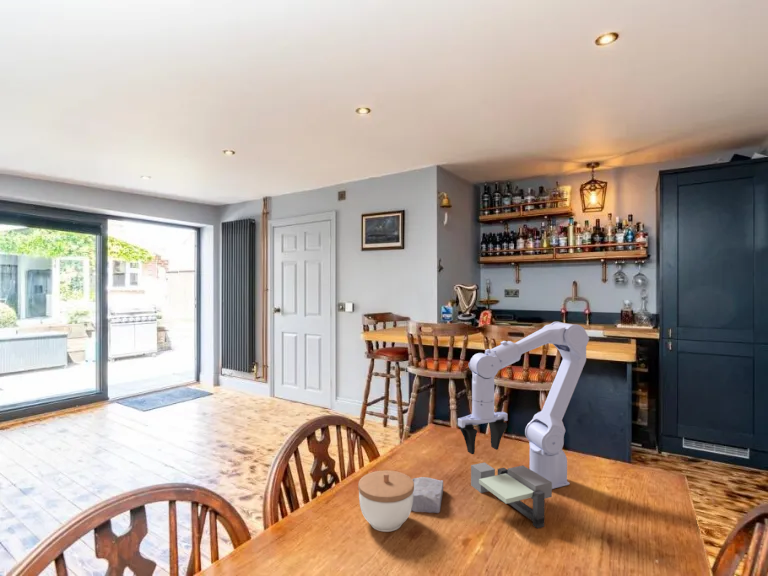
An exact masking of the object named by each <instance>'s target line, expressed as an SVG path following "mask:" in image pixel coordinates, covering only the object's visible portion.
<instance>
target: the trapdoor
mask: <svg viewBox="0 0 768 576" xmlns="http://www.w3.org/2000/svg"><path fill="white" fill-rule="evenodd" d="M507 470H508V474H506V473H505V474H500V475H498V474H497V475H496V474H495V476H491V477H487V478H482V479H479V484H481V485H482V486H483V487H485V488H486V489H487V490H489V491H488V492H490V493H491V494H493V495H494V496H495V497H498V498H499V499H501V500H502V501H501V502H503V503H504V504H505V505H506V504H508V503H511V502H515V501H519V500H520V501H522V500H528V499H532V500H533V492H534V491H538V490H540V491H542V492H544V493H545V497H544V500H546V499H549V498H552V497H553V496H552V495H553V492H552V490H553V489H552V482H550V481H549V480H547V479H545V478H544V477H542V476H540V475H539V474H537V473H535V472H533V471H532V470H530V468H529V467H527V466H525V465H519V466H514V467H507ZM499 499H498V500H499Z"/></svg>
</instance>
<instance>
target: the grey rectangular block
mask: <svg viewBox="0 0 768 576" xmlns="http://www.w3.org/2000/svg"><path fill="white" fill-rule="evenodd" d="M491 476H496V469H495V468H494V467H492V466H491V465H489V464H488V463H487V462H480V463H476V464H475V463H474V464H471V465H470V486H471V487H472V488H474V489H475V490H476V491H478V492H479V493H480V494H482V493H487V492H490V491H489V490H487V489H486V488H485V487H483V486H482V485H481V484H479V479H482V478H487V477H491Z"/></svg>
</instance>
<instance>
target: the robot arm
mask: <svg viewBox="0 0 768 576" xmlns="http://www.w3.org/2000/svg"><path fill="white" fill-rule="evenodd" d="M589 341H590V336H589V335H588V333H587V331H586V329H585V328H584V327H583V326H582V325H580V324H576V323H575V324H572V323H565V322H561V321H553V322H552V323H550V324H545V325H544V326H543V327H542V328H540V329H538V330H536V331H535V332H533V333H531V334H529V335H527V336H525V337H524V338H521V339H520V340H518V341H516V342H513V341H511V340H508V341H506V340H503V341H500V344H499V345H496V346H495V347H493V348H491V349H489V348H487V349H485V350H484V353H483V352H478V353H475V354H474V355H472V357H471V358H470V360H469V362H468V368H469V370H470V371H471V374H472V378H471V400H472V401H471V413H470V414H468V415H465V416H462V417H458V418H457V426H458V427H459V430H460V432H461V434H462V436H463V439H464V442H465V445H466V450H467V452H468V453H469V454H471V455H475V452H476V438H477V433H478V429H476V428H475V427H474V426H475V425H481V424H482V425H483V424H487V423H488V425H489V430H490V432H489V433H490V446H491V447H490V448H492V449H494V450H496V451H497V450H499V447H500V444H501V443H500V442H501V440H502V437H503V435H504V432H505V431H506V429H507V428H508V423H507V421H508V413H507V412H505V411H496V412H495V377H496V375H497V374H498V372H499V371H501V370H502V369H504V368H506V367H508V366H510V365H512V364H515V363H516V362H519V361H520V360H521V358H522V357H521V356H522V355H523V354H525V353H527V352H531V351H533V350H535V349H538V348H540V347H542V346H545V345H548V344H551V345H553V346H554V347H555V348H556V349H557V350H558V351H559V352H558V353H560V356H561V357H562V360H561V363H560V365H559V367H558V370H557V372H556V375H555V377H554V379H553V382H552V385H551V387H550V389H549V392H548V395H547V397H546V399H545V402H544V404H543V407H542V409H541V410H540V411H538V412H537V413H535V414H534V415H533V417H532V419H531V420H530V421H529V422H528V423H527V425H526V426H525V429H524V435H525V437H526V439H527V440H528V443H529V444H528V445H529V469H530V470H532V471H533V472H535V473H537V474H539V475H540V476H542V477H544V478H545V479H547V480H549V481H550V482H552V490H555V489H556V488H562V487H566V486H569V485H570V482H569V481H568V458H567V454H566V453H565V452H564V450H563V447H564V443H565V438H564V437H565V433H566V427H565V426H564V422H563V418H564V416H565V414H566V411H567V409H568V406H569V404H570V401H571V399H572V397H573V394H574V392H575V389H576V387H577V384H578V382H579V379H580V376H581V374H582V372H583V368H584V366H585V365H586V362H587V346H588V343H589Z"/></svg>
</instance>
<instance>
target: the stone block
mask: <svg viewBox="0 0 768 576" xmlns="http://www.w3.org/2000/svg"><path fill="white" fill-rule="evenodd" d="M411 479H412V480H413V482H414V491H413V505H412V509H411V512H416V513H418V512H419V513H428V514H429V513H430V514H431V513H435V514H439V513H440V512H441V507H442V501H443V500H442V499H443V493H444V480H442V479H440V480H439V479H436V478H431V477H427V476H425V477H424V476H420V477H414V478H411Z"/></svg>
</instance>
